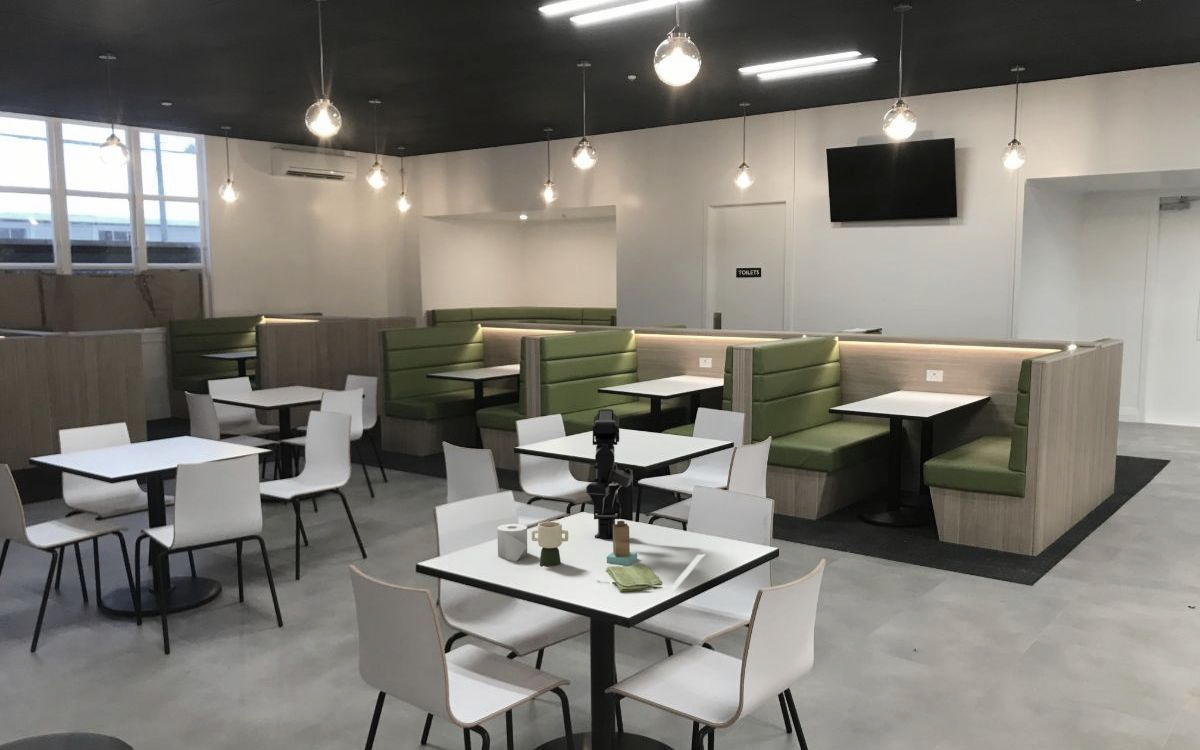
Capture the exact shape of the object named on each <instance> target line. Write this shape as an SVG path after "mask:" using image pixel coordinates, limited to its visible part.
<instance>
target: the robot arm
mask: <svg viewBox="0 0 1200 750" xmlns="http://www.w3.org/2000/svg"><path fill="white" fill-rule="evenodd" d="M619 423H620V420H619V416H618V415H617V414H615V413H614V409H612V408H600V409H598V413H597V414H596V415H595V416H594V417H593V424H592V446H595V455H594V457H595V458H594V459H595V464H594V465H593V469H594V470H596V471H595V476H596V477H594V478H593V480H594V481H591V482H590V483H589V484H587V486H585V490H586V493H587V494H588V496H589V497H590V499H591V500H592V502H593V520H597V533H596V534H595V535H594V538H598V539H611V540H613V524H616V520H620V519H622V505H621V504H620V501H619V500H618V499H617V498H618V495H617V491H618V490H619V489H620V488H621V487H623V488H628V487H629V486H631V483H632V481H633V480H634V474H633V470H632V469H630V468H629V467H628V468H625V469H624V470H623V469H618V464H617V463H615V459H616V458H615V456H616V455H615V446H617V445H618V442H620V426H619V425H620V424H619Z"/></svg>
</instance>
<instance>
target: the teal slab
mask: <svg viewBox="0 0 1200 750" xmlns="http://www.w3.org/2000/svg"><path fill="white" fill-rule="evenodd" d="M636 560H638V552H636V551H630V556H626V557H615V555H614V554H613V552H611V553H610V554H608V555H606V563H607V564H615V565H616V564H617V565H624V566H630V565H631V564H633V562H635V561H636Z"/></svg>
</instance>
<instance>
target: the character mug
mask: <svg viewBox="0 0 1200 750" xmlns="http://www.w3.org/2000/svg"><path fill="white" fill-rule="evenodd" d="M536 534H537V537H536V536H535V535H536ZM563 534H564V537H563ZM531 541H532V542H537V543H538V546H539V547H540V548H541V551H540V557H539V566H540V567H541V568H543V567H557V566H560V565H561V563H562V562H561V556H560V549H559V547H561V546H562V544H563V542H568V541H569V530H563V525H562V523H561V522H558V521H544V522H540V523H538V524H537V529H533V530H531Z"/></svg>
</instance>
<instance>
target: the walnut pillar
mask: <svg viewBox="0 0 1200 750" xmlns="http://www.w3.org/2000/svg"><path fill="white" fill-rule="evenodd" d="M630 543H631V542H630V526H629V525H628V523H625V521H624V520H617V521H616V523H615V524H613V539H612V553H613V554H614V555H615V557H626V556H630V552H631V548H630Z"/></svg>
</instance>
